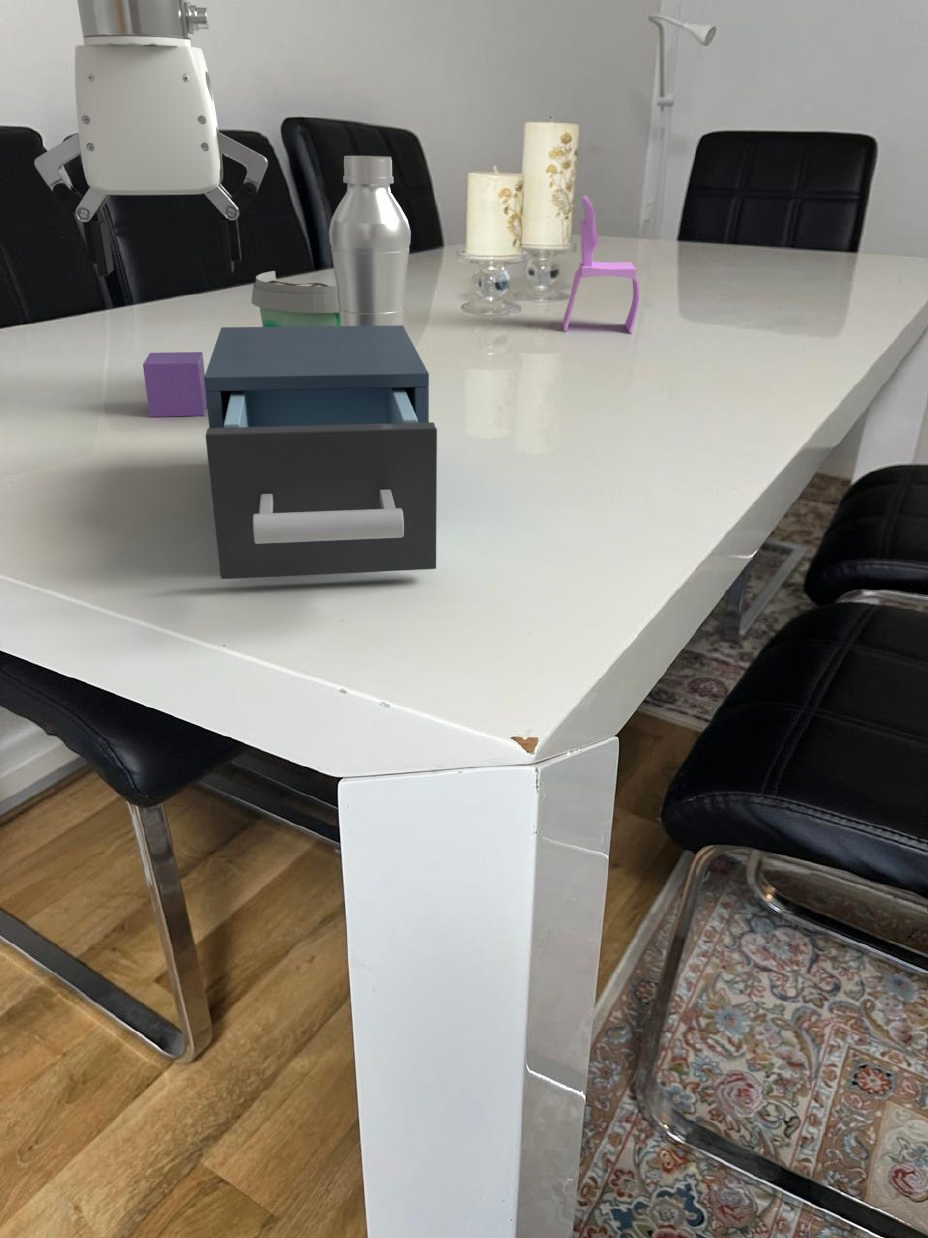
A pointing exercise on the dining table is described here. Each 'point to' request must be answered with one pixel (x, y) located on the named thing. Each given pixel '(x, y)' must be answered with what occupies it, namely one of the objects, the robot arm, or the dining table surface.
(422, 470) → the dark grey drawer
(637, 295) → the toy chair
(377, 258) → the silver tall bottle
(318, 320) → the food container
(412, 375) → the drawer cabinet
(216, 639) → the dining table surface
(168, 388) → the purple cube
